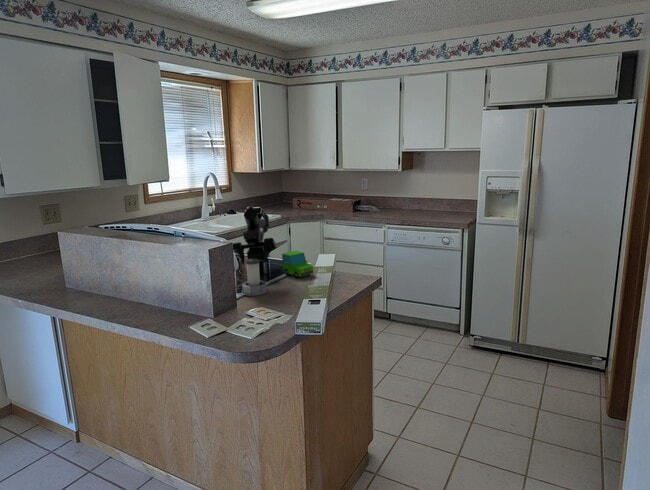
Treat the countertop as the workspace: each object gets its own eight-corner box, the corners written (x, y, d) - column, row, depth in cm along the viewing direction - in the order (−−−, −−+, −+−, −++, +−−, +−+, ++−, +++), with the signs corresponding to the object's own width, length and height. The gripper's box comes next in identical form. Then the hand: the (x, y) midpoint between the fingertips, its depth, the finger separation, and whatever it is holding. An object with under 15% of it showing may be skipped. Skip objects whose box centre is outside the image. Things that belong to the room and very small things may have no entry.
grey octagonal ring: (251, 286, 193) (251, 278, 193) (273, 289, 188) (272, 281, 188) (235, 294, 184) (235, 285, 183) (257, 297, 179) (257, 288, 178)
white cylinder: (256, 287, 190) (254, 257, 187) (263, 290, 186) (261, 260, 183) (245, 290, 186) (243, 260, 183) (252, 293, 182) (250, 262, 180)
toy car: (298, 280, 201) (297, 258, 199) (281, 274, 211) (280, 254, 209) (316, 275, 208) (315, 254, 206) (298, 270, 217) (297, 250, 215)
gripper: (227, 225, 194) (226, 258, 186) (269, 219, 192) (270, 252, 184) (235, 237, 203) (235, 268, 196) (275, 232, 202) (276, 263, 194)
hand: (253, 263), depth 192 cm, fingers open, 9 cm apart
